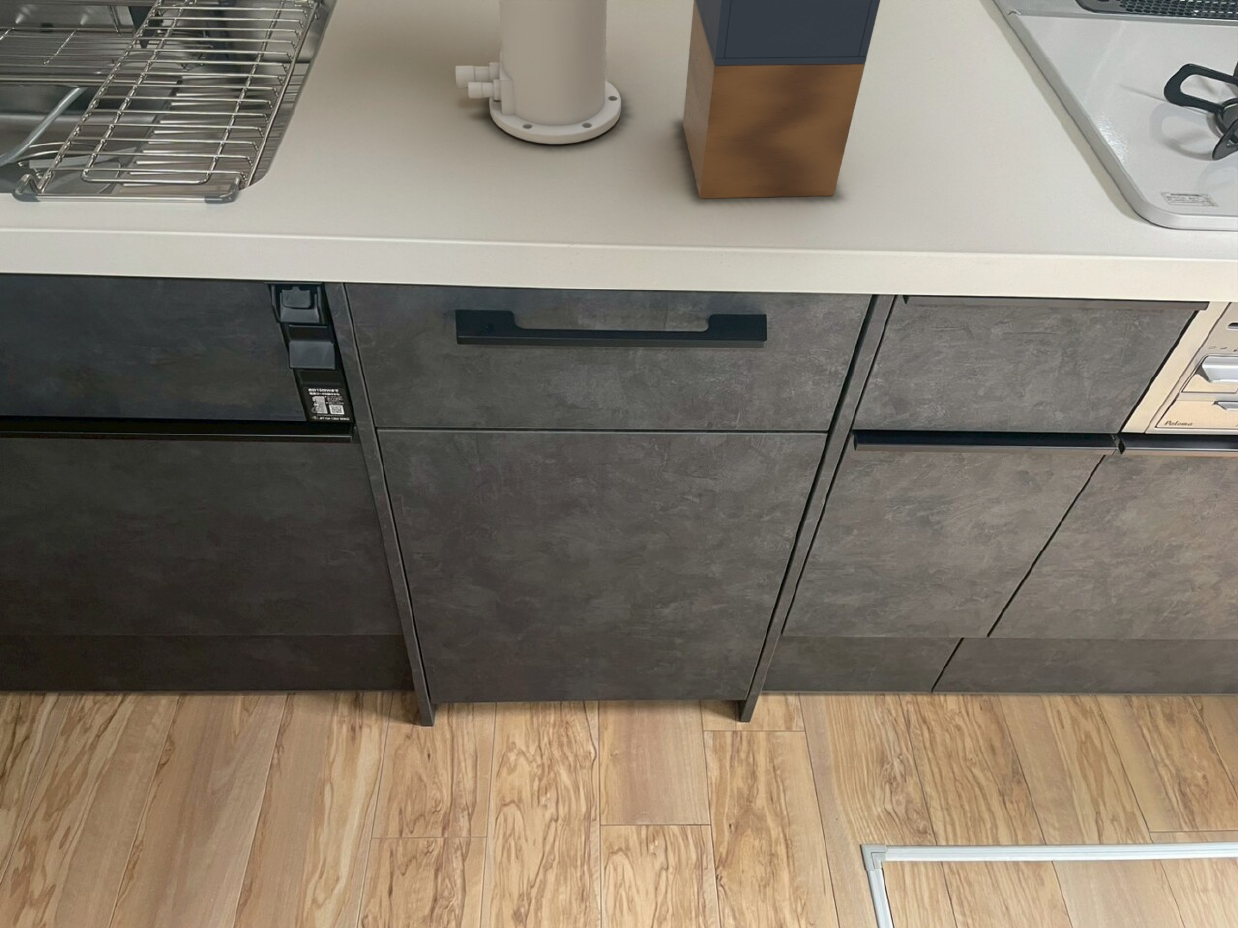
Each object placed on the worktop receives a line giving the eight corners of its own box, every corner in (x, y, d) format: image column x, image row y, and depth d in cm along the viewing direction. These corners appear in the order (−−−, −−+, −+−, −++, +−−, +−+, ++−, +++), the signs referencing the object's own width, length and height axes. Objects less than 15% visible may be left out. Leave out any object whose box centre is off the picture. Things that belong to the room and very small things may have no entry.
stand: (699, 198, 82) (714, 66, 73) (682, 125, 90) (694, -3, 80) (834, 195, 83) (865, 64, 74) (805, 123, 91) (831, -4, 81)
